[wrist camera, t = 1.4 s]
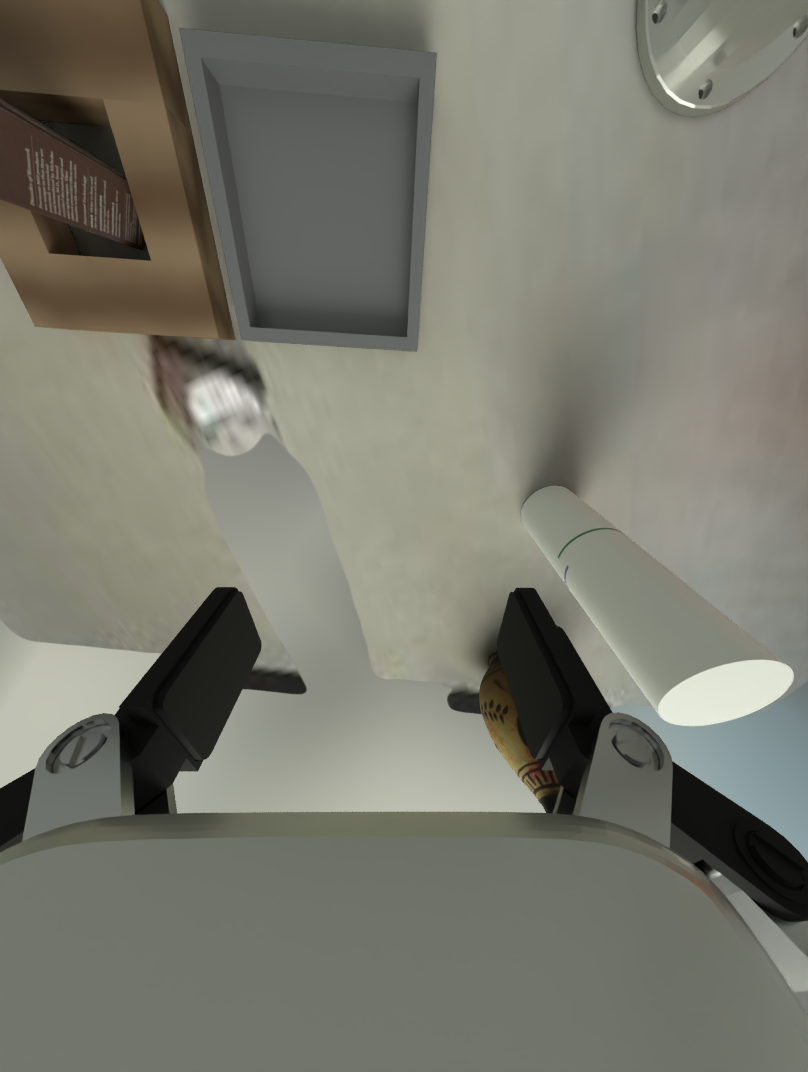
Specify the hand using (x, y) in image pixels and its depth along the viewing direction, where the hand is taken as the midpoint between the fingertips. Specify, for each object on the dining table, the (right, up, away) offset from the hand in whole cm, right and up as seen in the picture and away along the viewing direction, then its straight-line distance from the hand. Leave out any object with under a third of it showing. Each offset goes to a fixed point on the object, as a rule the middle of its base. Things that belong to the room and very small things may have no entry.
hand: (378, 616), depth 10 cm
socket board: (-23, +30, +13) cm, 41 cm away
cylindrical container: (+20, +6, +29) cm, 36 cm away
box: (-23, +31, +14) cm, 41 cm away
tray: (-5, +29, +15) cm, 33 cm away
